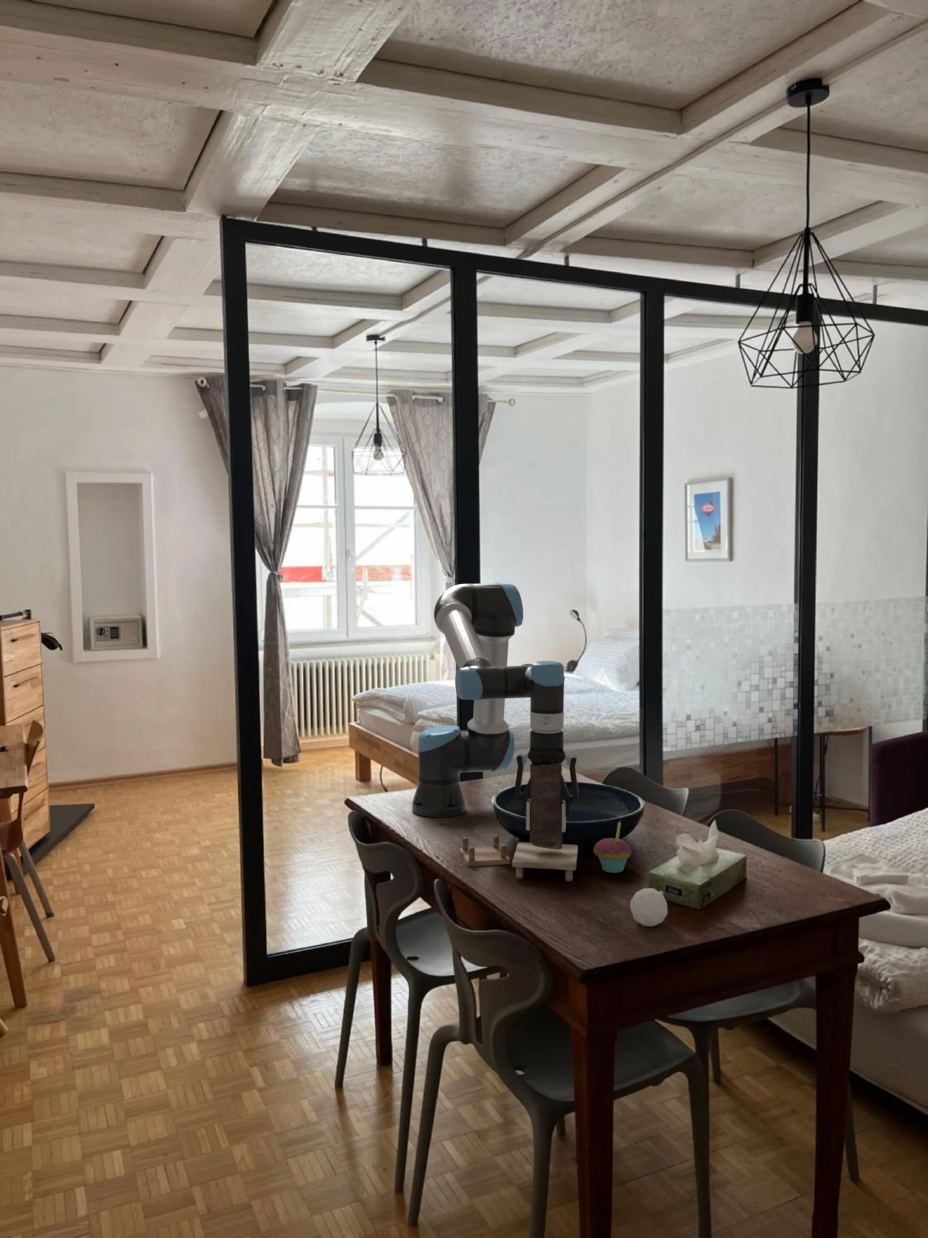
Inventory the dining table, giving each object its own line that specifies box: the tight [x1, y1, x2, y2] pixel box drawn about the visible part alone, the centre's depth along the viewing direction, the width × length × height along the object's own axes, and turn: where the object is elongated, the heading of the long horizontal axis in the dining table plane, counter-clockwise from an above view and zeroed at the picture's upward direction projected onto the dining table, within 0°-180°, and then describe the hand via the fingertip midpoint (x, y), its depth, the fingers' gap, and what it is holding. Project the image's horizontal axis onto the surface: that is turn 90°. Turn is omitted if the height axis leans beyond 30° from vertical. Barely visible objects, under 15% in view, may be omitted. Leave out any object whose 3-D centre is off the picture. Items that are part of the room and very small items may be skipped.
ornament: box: [629, 887, 668, 927], centre depth 184 cm, size 7×7×8 cm
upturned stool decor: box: [459, 834, 511, 868], centre depth 224 cm, size 10×10×4 cm
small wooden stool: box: [511, 841, 579, 882], centre depth 216 cm, size 14×14×4 cm
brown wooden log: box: [529, 763, 563, 850], centre depth 215 cm, size 8×7×20 cm
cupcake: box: [593, 819, 633, 874], centre depth 216 cm, size 9×8×12 cm
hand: (546, 829), depth 215 cm, fingers closed on brown wooden log, 7 cm apart
